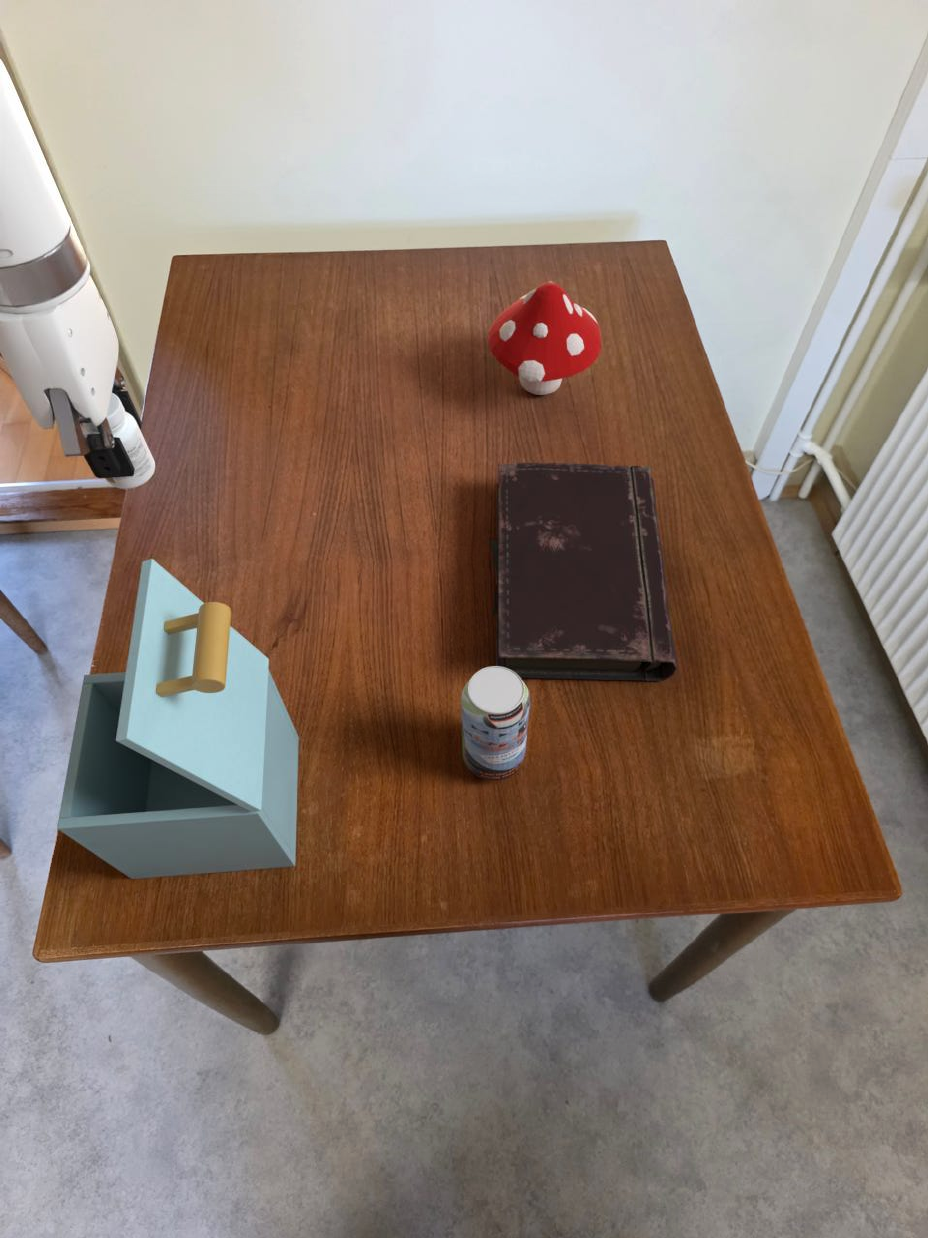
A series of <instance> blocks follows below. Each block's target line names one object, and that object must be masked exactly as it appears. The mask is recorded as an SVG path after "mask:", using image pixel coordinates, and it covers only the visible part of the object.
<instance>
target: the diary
mask: <svg viewBox="0 0 928 1238" xmlns="http://www.w3.org/2000/svg"><path fill="white" fill-rule="evenodd" d="M655 489H656V488H655V481H654V477H653V474H652V468H651V467H650V466H649V465H621V464H620V465H619V464H617V465H614V464H611V465H610V464H595V463H577V462H576V463H575V462H572V463H571V462H506V463H505V462H504V463H498V464H497V483H496V539H494V540H491V541H489V544H490V549H491V555H492V560H493V564H494V570H495V576H496V583H495V587H494V593H493V595H494V596H493V613H492V614H493V616H496V666H500V667H505V668H508V669H510V670H512V671H514V672H515V673H516V674H517V675H518V676H519V677H520V678H521V679H559V680H560V679H562V680H603V681H605V680H607V681H648V682H649V681H651V682H652V681H655V682H657V681H658V682H664V681H667V680H668V679H670V678H671V677H673V676H674V675H675V674H676V672H677V670H678V663H677V655H676V648H675V641H674V638H673V637H674V636H673V630H672V629H673V628H672V622H671V616H670V609H669V608H670V607H669V606H670V605H669V599H668V588H667V579H666V577H667V576H666V570H665V559H664V553H663V548H662V547H663V546H662V541H661V535H660V528H659V521H658V512H657V502H656V501H657V500H656V490H655Z"/></svg>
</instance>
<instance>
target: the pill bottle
mask: <svg viewBox="0 0 928 1238" xmlns="http://www.w3.org/2000/svg"><path fill="white" fill-rule="evenodd" d="M106 417H107V420H108V422H109V425H110V428H111V431H112V433H113V436H114V437H117V438H120V440H121V442H122V444H123V446H124V448H125V450H126V452H127V454H128V456H129V458H130V460H131V462H132V464H133V466H134V468H135V472H134V475H133V476H130V477H114V478H104V479H105V481H106V482H107V484H109V485H111V486H112V487H114V488H117V489H121V490H130V489H135V488H138V487H140V486H142V485H145V484H146V483H147V482H148V481H149V480H150V479H151V478H152V476H153V475H154V474H155V470H156V461H155V459H154V457H153V455H152V452H151V450H150V448H149V446H148V444H147V442H146V440H145V437H144V436H143V433H142V431H141V429H140V428H139V426H138V424H137V422H136V420H135V419H134V417H133V416H132V415H131V414H129V413H128V412H125V409H124V407H123V405H122V403H121V401H120V399H119V398H118V396H117V395H115V394H114V393H112V394H111V399H110V404H109V409H108V413H107V416H106ZM81 425H82V426H83V427H82V432H83V434H99V431H98V429H97V426H95V425H94V424H92V423H81Z"/></svg>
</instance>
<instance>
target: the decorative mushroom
mask: <svg viewBox="0 0 928 1238" xmlns="http://www.w3.org/2000/svg"><path fill="white" fill-rule="evenodd" d="M487 343H488V347H489V350H490V353H491V354H492V355H493V357H494V358H495V360H496V361H497V362H498V363H499V364H501V366H503V367H504V368H505V369H506V370H508V371H509V372H511V373H512V374H513V375H515V376H516V377H518V378H519V383H520V385H521V387H522V388H523V389H524V390H525V391H527V392H529V393H530V394H532V395H538V396H545V395H549V394H552V393H554V392H556V391H557V390H558V389H559V388H560V386H561V383H562V382H563V379H566V378H571V377H574V376H577V375H578V374H581V373H583V372H584V371H586V370H587V369H589V367H591V366H593V364H594V363H595V362H596V360H597V359H598V357H600V353H601V349H602V336H601V331H600V325H599V323H598V321H597V319H596V317H595V316H594V315H593V314H592V313H591V312H589V311H588V309H586V308H584V307H581V306H580V305H578V304H577V303H576V302H575V301H573V299H572V298H571V297H570V295H569V294H568V293H567V291H565V289H564V288H563V287H562V286H561V285H560V284H557V283H555V282H553V281H551V280H550V281H547V282H545V283H542V284H540V285H538V286H537V287H536V288H533V289H532V290H531V291H529V292H527V294H525V295H522V296H521V297H519V299H518V300H516V301H514V303H512V304H511V305H510V306H508V307H507V308H506V309H504V310H502V311H501V313H500V314H498V316H496V318H495V319H494V321H493V322H492V324H491V326H490V328H489V331H488V339H487Z"/></svg>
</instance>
